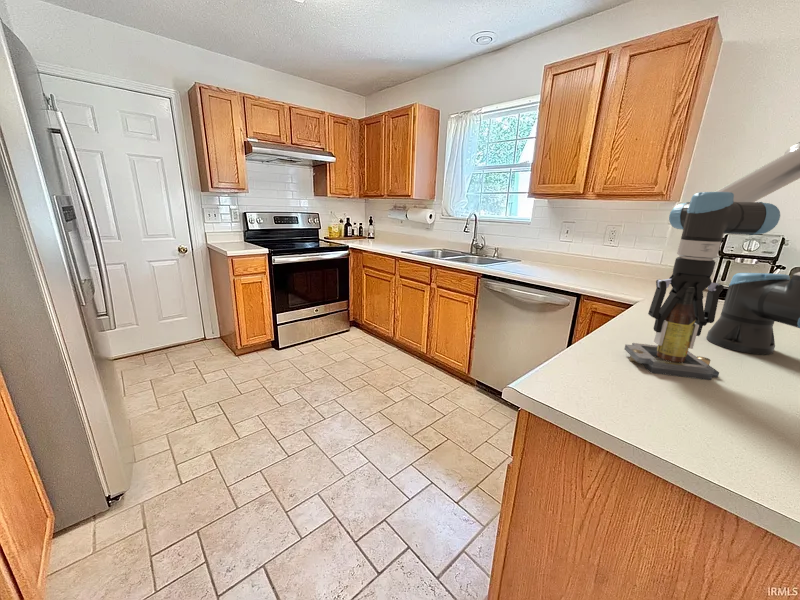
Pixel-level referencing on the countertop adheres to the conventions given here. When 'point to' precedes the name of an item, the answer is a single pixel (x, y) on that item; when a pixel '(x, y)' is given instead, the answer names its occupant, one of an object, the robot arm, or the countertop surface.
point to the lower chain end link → (682, 373)
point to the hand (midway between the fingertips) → (672, 344)
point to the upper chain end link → (642, 356)
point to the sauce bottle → (678, 329)
